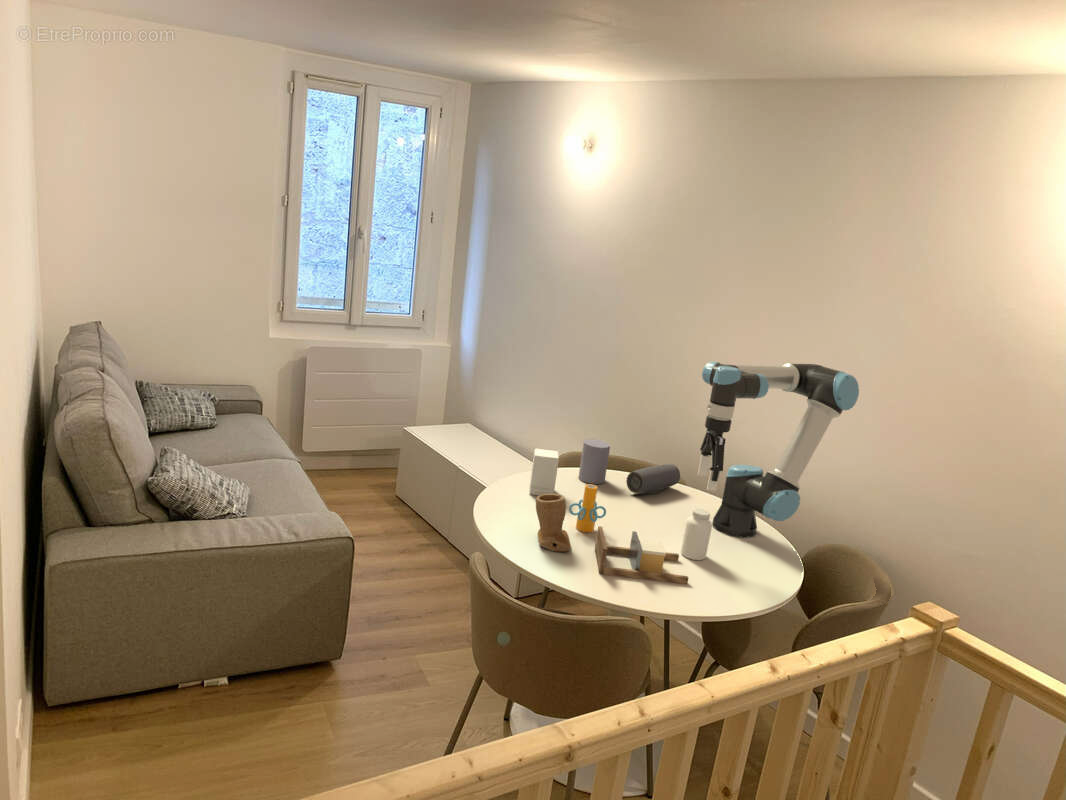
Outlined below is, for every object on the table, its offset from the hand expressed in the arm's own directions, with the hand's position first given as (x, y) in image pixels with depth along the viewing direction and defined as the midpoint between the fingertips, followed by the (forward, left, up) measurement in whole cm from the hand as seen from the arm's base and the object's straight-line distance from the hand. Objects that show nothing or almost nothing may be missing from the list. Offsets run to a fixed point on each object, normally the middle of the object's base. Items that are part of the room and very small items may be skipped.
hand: (706, 482), depth 248 cm
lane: (+19, +13, -25) cm, 34 cm away
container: (+28, -61, -25) cm, 72 cm away
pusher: (+21, +13, -24) cm, 34 cm away
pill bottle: (0, 0, -25) cm, 25 cm away
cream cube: (+16, +13, -25) cm, 32 cm away
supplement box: (+48, -41, -25) cm, 68 cm away
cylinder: (+34, -11, -25) cm, 43 cm away
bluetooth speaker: (+5, -56, -25) cm, 62 cm away
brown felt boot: (+46, +3, -25) cm, 52 cm away
